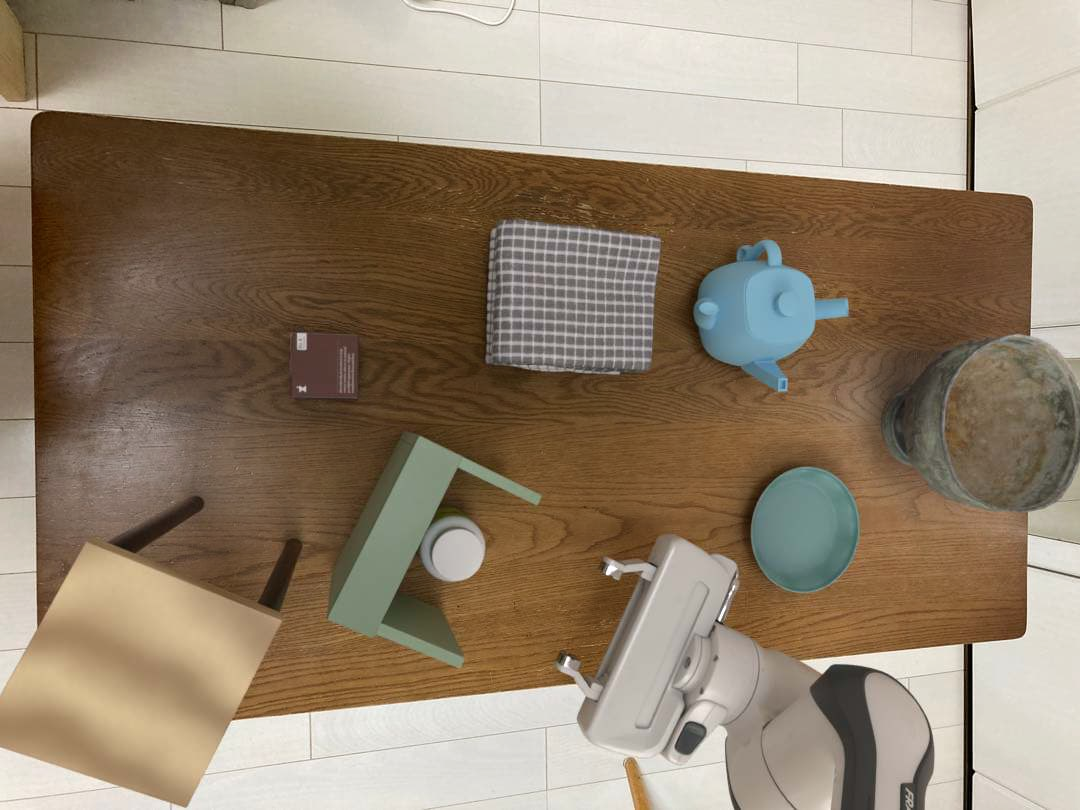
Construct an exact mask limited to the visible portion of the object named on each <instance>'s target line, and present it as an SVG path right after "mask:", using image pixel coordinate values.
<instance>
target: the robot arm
mask: <svg viewBox="0 0 1080 810" xmlns="http://www.w3.org/2000/svg"><path fill="white" fill-rule="evenodd" d="M739 570H740V569H739V567H738V565H737V563H736V561H734V559H732V558H730V557H728V556H726V555H725V554H722V553H720V552H709V553H708V552H707V551H705V550H704V549H702V548H701V547H699V546H697V545H696V544H694V543H692V542H690V541H689V540H688V539H685V538H683V537H681V536H679V535H677V534H675V533H666V534H662V535H659V536H658V537H657V538H656V540H655V542H654V544H653V547H652V549H651V551H650V554H649V556H648V558H647V560H646V561H644V560H642V559H640V558H637V557H636V558H630V559H624V560H619V561H618V560H615V559H613V558H612V557H609V556H608V555H603V556H602V559H601V560H600V563H599V565H598V566H597V571H599V572H601V573H602V574H604V575H606V576H610V577H611V578H613V579H614V580H616V581H620V579H621V577H622V575H623V574H624V573H634V575H636V576H639V578H638V580H637V582H636V585H635V586H634V589H633V591H632V594H631V595H630V597H629V600H628V601H627V604H626V605H625V609H624V611H623V613H622V615H621V618H620V620H619V622H618V624H617V627H616V628H615V631H614V633H613V635H612V637H611V640H610V642H609V644H608V646H607V648H606V650H605V652H604V655H603V658H602V659H601V662H600V664H599V666H598V668H597V671H596V673H595V675H594V676H592V675H590V674H585V675H584V676H582V674H581V672H580V671H579V669H580V667H581V664H582V661H581V660H580V659H578V657H577V656H576V655H574V654H572V653H570V652H569V653H567V651H566V650H564V649H560V651H559V653H558V654H557V656H556V658H555V660H554V662H553V666H554V668H556V670H558V671H559V672H561V673H563V674H566V675H568V676H570V677H571V678H572V680H573V681H574V682H575V684H576V686H578V688H579V689H580V691H581V692H582V693H583V694H584V695H585V696H584V699H583V702H582V703H581V706H580V708H579V710H578V712H577V715H576V723H577V725H578V728H579V729H580V731H581V733H582V735H583V736H584V737H585V739H586V740H588V741H587V742H589V743H591V744H592V745H594V746H595V747H598V748H600V749H603V750H605V751H610V752H612V753H615V754H618V755H622V756H626V757H632V758H634V759H644V760H645V759H651V758H655V757H656V756H658V755H661V756H662V757H663V758H664V759H665V760H667V761H668V762H670V763H671V764H673V765H675V766H683V765H685V764H687V763H688V761H690V759H691V758H692V757H693V755H694V754H695V753H696V752H697V751H698V749H700V747H701V745H702V744H703V743H704V742H705V741H706V740H707V738H708V737H709V736H710V735H711V734H712V733H713V732H714V731H715V730H716V729H717V728H718V727H719V726H720V727H723V728H724V729H725V731H726V733H727V735H726V737H725V739H724V741H725V742H724V760H725V761H724V762H725V771H726V781H727V788H728V794H729V797H730V801H731V805H732V807H733V810H926V794H927V789H928V786H929V783H930V781H931V779H932V777H933V775H934V771H935V758H936V757H935V756H936V755H935V753H936V752H935V743H934V734H933V731H932V726H931V723H930V721H929V719H928V716H927V714H926V712H925V711H924V709H923V708H922V706H921V704H920V703H919V701H918V700H917V699H916V697H915V696H914V695H913V694H912V693H911V691H910V690H909V689H908V688H907V687H906V686H905V685H904V684H902V683H901V682H900V680H898V679H896V678H895V677H894V676H892V675H891V674H889V673H887V672H885V671H883V670H880V669H878V668H877V669H876V668H874V667H873V668H872V667H869V666H863V665H858V664H849V663H833V664H831V665H829V667H828V668H827V669H825V671H824V672H822V673H821V672H820V671H818V670H816V669H815V668H813V667H812V666H810V665H808V664H807V663H805V662H803V661H802V660H800V659H797V658H795V657H794V656H791V655H790V654H787V653H785V652H783V651H781V650H777V649H773V648H765V647H763V646H761V645H760V644H759V643H758V642H757V641H756V640H754V639H753V638H752V637H750V636H748V635H747V634H745V633H743V632H740V631H738V630H736V629H734V628H732V627H729V626H727V625H725V624H724V623H725V621H726V618H727V617H728V613H729V611H730V609H731V605H732V604H733V599H734V597H735V596H736V594H737V593H738V591H739V589H740V585H741V580H739V576H740V572H739Z"/></svg>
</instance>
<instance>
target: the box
mask: <svg viewBox="0 0 1080 810" xmlns="http://www.w3.org/2000/svg"><path fill="white" fill-rule="evenodd" d="M289 345H290V351H289V352H290V354H289V355H290V360H289V397H290V399H294V400H296V401H323V402H324V401H327V402H328V401H329V402H330V401H332V402H334V401H335V402H336V401H337V402H338V401H339V402H340V401H341V402H342V401H344V402H347V401H357V400H358V398H359V383H360V381H359V379H360V378H359V374H360V372H359V371H360V369H359V368H360V344H359V335H358V334H352V333H351V334H350V333H328V332H327V333H326V332H325V333H324V332H323V333H322V332H305V331H304V332H303V331H301V332H300V331H291V332H290V343H289Z"/></svg>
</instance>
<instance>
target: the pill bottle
mask: <svg viewBox="0 0 1080 810" xmlns="http://www.w3.org/2000/svg"><path fill="white" fill-rule="evenodd" d="M416 553H417V555H418V557H419V559H420V561H421V563H422V565H423V567H424V569H425V570H426V571H427V572H428V573H429V574H430V575H431V576H433V578H436V579H437V580H440V581H444V582H449V583H450V582H451V583H452V582H453V583H454V582H461V581H465V580H467V579H469V578H471V577H472V576H473V575H475V574H476V573H477V572H478V571H479V569H480V567H481V566H482V563H483V560H484V558H485V555H486V540H485V537H484V534H483V532H482V531H481V529H480V527H479V526H478V524H476V523H475V521H473V520H472V519H471V518H469V517H468V516H467V515H466V514H465V513H464V512H463V511H461V510H459V509H457V508H456V507H455V508H454V507H451V506H439V507H438V509H437V511H436V513H435V515H434V517H433V519H432V521H431V523H430V525H429V527H428V529H427V531H426V533H425V535H424V537H423V539H422V541H421V543H420V545H419V547H418V549H417V551H416Z"/></svg>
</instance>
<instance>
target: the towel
mask: <svg viewBox="0 0 1080 810" xmlns="http://www.w3.org/2000/svg"><path fill="white" fill-rule="evenodd" d="M489 235H490V236H489V237H490V241H489V244H488V246H489V253H488V266H487V267H488V277H487V279H488V282H487V294H486V301H487V303H486V312H487V314H486V321H487V322H486V323H487V324H486V337H485V339H486V347H485V352H486V354H485V358H484V359H485V364H486V365H492V366H504V367H505V366H506V367H514V368H518V369H519V368H521V369H526V370H531V371H539V372H545V373H547V372H553V373H554V372H558V373H561V372H572V373H580V374H598V375H600V374H603V375H615V376H619V375H621V373H627V374H634V373H637V374H638V373H639V374H643V373H645V371H649V370H651V367H652V364H651V363H652V359H653V346H654V340H653V338H654V323H655V317H654V316H655V300H656V297H655V294H656V289H657V281H658V274H659V268H660V267H659V266H660V260H661V259H660V258H661V249H662V241H661V238H660V237H659V235H656V234H655V235H654V234H644V233H639V232H638V233H635V232H631V231H630V232H629V231H621V230H612V229H602V228H595V227H589V226H584V225H581V226H580V225H578V224H577V225H575V224H572V225H568V224H558V223H547V222H544V221H536V220H527V219H526V218H517V219H516V218H515V219H505V218H502V219H501V218H499V220H498V222H497V226H496V227H493V228H491V231H490V234H489Z"/></svg>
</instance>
